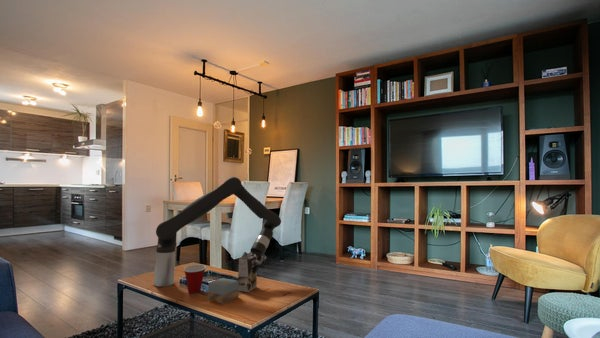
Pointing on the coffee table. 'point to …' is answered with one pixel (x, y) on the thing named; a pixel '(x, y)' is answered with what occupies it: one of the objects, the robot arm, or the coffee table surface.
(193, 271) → the plastic cup
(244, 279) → the coffee box
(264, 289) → the coffee table surface
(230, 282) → the tower top
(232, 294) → the tower base
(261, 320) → the coffee table surface
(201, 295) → the coffee table surface
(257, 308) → the coffee table surface
